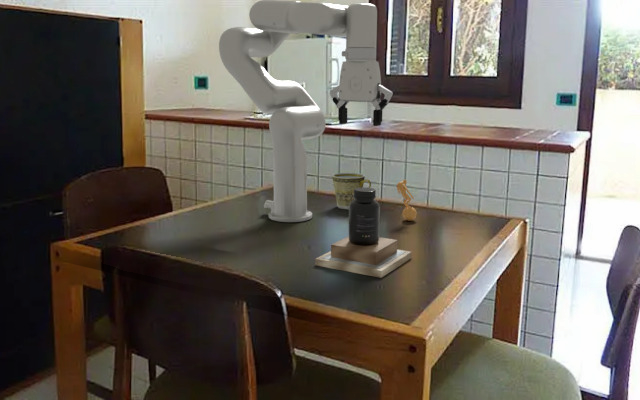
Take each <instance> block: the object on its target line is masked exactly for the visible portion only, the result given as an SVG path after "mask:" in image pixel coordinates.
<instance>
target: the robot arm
mask: <svg viewBox="0 0 640 400" xmlns="http://www.w3.org/2000/svg"><path fill="white" fill-rule="evenodd" d="M377 9H378V8H377V6H376V5H375V4H373V3H366V2H365V3H362V2H361V3H360V2H359V3H352V4H350V5H343V4H335V3H334V4H333V3H326V2H307V1H303V2H302V1H299V0H259V1H256V2H255V3H254V4H253V5H252V6H251V8H250V9H249V12H248V13H249V14H248V15H249V21H250V22H251V24H252V25H253V27H249V26H235V27H230V28H227V29H226V30H224V31H223V32H222V34H221V35H220V38H219V41H218V51H219V56H220V60H221V62H222V64H223V66H224V67H225V69H226V71H227V72H228V73H229V74H230V75H231V77H232V78H233V79H234V80H235V81H236V82H237V83H238V84H239V86H240V87H241V88H242V90H243V91H244V93H246V94H247V96H248V97H249V98H250V100H251V101H252V103H254V105H255V106H256V107H257V109H258V110H259V111H260V112H261V113H264V114H265V115H266V114H268V115H271V116H270V118H269V123H268V126H269V127H268V128H269V133H270V134H269V135H270V138H271V143H272V145H271V146H272V158H273V159H272V160H273V161H272V163H273V164H272V165H273V167H272V168H273V200H269V199H266V200H265V202H264V204H263V207H264V208H265V209H270V212H269V213H268V219H270V220H271V221H275V222H280V223H281V222H282V223H299V222H301V223H302V222H305V221H309V220H311V219H312V218H313V212H312V211H310V210H308V193H307V192H308V176H307V175H308V160H307V159H308V158H307V151H306V149H305V146H304V144H303V141H304V140H310V139H315V138H319V136H322V134H323V133H324V132H325V130H326V124H327V123H326V117H325V114H324V112H323V111H322V109H321V108H320V107H319V106H318V104H317V103H316V102H315V100H314V99H313V98H312V97H311V96H310V94H309V93H308V92H307V91H306V90H305V88H304V87H303V86H302V85H301V84H299V83H298V82H297V81H294V80H290V79H289V80H288V79H275V78H274V77H272V76H271V75H270V74H269V72H268V71H267V70H266V68H265V67H264V66H263V65H262V64H260V63H259V62H258V61H256V60H255V59H253V58H266V57H269V56H271V55H273V54H274V53H275V52H277V50H278V48H279V47H281V45H283V43H284V42H285V40H286V39H287V38H288V37H289V36H290V35H291V34H293V35H298V34H311V35H318V36H319V35H321V36H322V35H323V36H325V35H326V36H340V37H345V46H346V47H345V50H343V51H341V56H342V57H345V61H342V62H341V63H342V64H341V68H340V75H339V83H338V85H337V86H335V87H334V88H331V90H329V94H330V98H331V99H332V102H333V103H334V105H335V106H336V108H337V110H338V123H339V125H345V124H347V123H348V108H347V107H346V106H347V105H348V104H349V103H350V102H353V103H354V102H357V103H358V102H359V103H371V104H372V106H373V107H374V109H373V111H372V112H373V113H372V115H373V116H372V126H373V127H378V126H381V125H382V122H383V110H384V109H385V107H386V106H387V105H388V104H389V103H390V101H391V99H392V96H393V94H394V93H393V90H390V89H388V88H387V87H385V86H384V85H382V79H381V78H382V77H381V69H380V63H379V61H377V36H378V35H377V31H378V28H377V27H378V24H377V23H378V10H377ZM382 94H383V95H384V97H383V99H382V100H381V97H382ZM302 140H303V141H302Z"/></svg>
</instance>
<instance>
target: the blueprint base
mask: <svg viewBox="0 0 640 400" xmlns="http://www.w3.org/2000/svg"><path fill="white" fill-rule="evenodd" d="M412 255H413V254H412V251H409V250H403V249H398V239H393V238H387V237H380V236H379V241H378V243H376V244H374V245H368V246H361V245H355V244H352V243H351V242H350V241H349V235H348V236H346V237H344V238H341V239H339V240H338V241H335V242H334V243H331V245H330V251H328V252H326V253H324V254H322V255H320V256H318V257H316V258H315V259H314V261H315V262H314V263H315V266H317V267H322V268H323V267H324V268H327V269H333V270H339V271H343V272H349V273H354V274H359V275H364V276H371V277H374V278H375V277H376V278H380V279H382V278H384V277H385V276H386V275H388V274H389V273H391V272H392V271H394V270H396V269H398V267H401V266H402V265H403V264H405V263H406V262H408V261H409V260H411V259H412Z"/></svg>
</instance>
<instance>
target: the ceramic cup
mask: <svg viewBox="0 0 640 400" xmlns="http://www.w3.org/2000/svg"><path fill="white" fill-rule="evenodd" d="M365 177H366V175H365V174H363V173H358V172H337V173H333V174H332V176H331V178H332V182H333V183H332V185H333V188H334V195H335V198H336V199H335V200H336V206H337V208H338V209H341V210H349V204H350V203H351V202H352V201H353V200H355V198H353V195H354V189H355V188H362V187H364V183H366V182H367V183H368V184H369V186H368V187H367V188H372V182H371V180H369V179H365Z"/></svg>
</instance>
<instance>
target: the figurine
mask: <svg viewBox="0 0 640 400" xmlns="http://www.w3.org/2000/svg"><path fill="white" fill-rule="evenodd" d="M407 184H408V181H407V179H403V180H402V181H399V182H397V185H396V190H397V193H398V195H399V194H401V196H402V197H403V198H404V200H403V205H404V206H405V207H404V209H403V210H402V217H403V219H404V220H406V221H408V222H410V221H413V220H415V219H416V218H417V215H418V213H417V210H416V209H415V208H414V207H413V206H410V205H409V203H410V202H411V201H412V200H414V199H415V198H414V196H413V194H412V193H411V192H410V191H409V189H408V188H407ZM409 195H410V196H409Z"/></svg>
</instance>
